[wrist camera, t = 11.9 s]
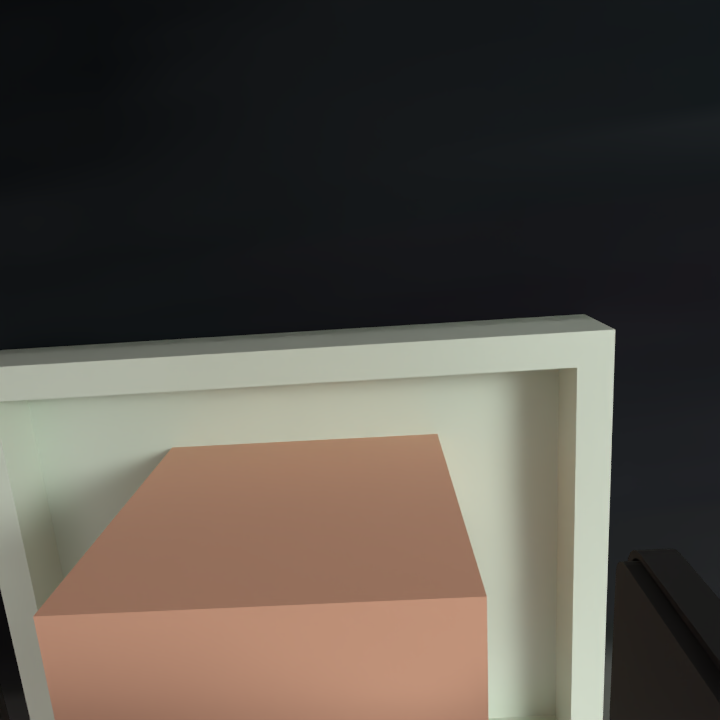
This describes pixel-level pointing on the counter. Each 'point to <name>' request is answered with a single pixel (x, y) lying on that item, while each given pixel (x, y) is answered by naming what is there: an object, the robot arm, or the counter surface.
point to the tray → (342, 421)
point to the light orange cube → (276, 591)
